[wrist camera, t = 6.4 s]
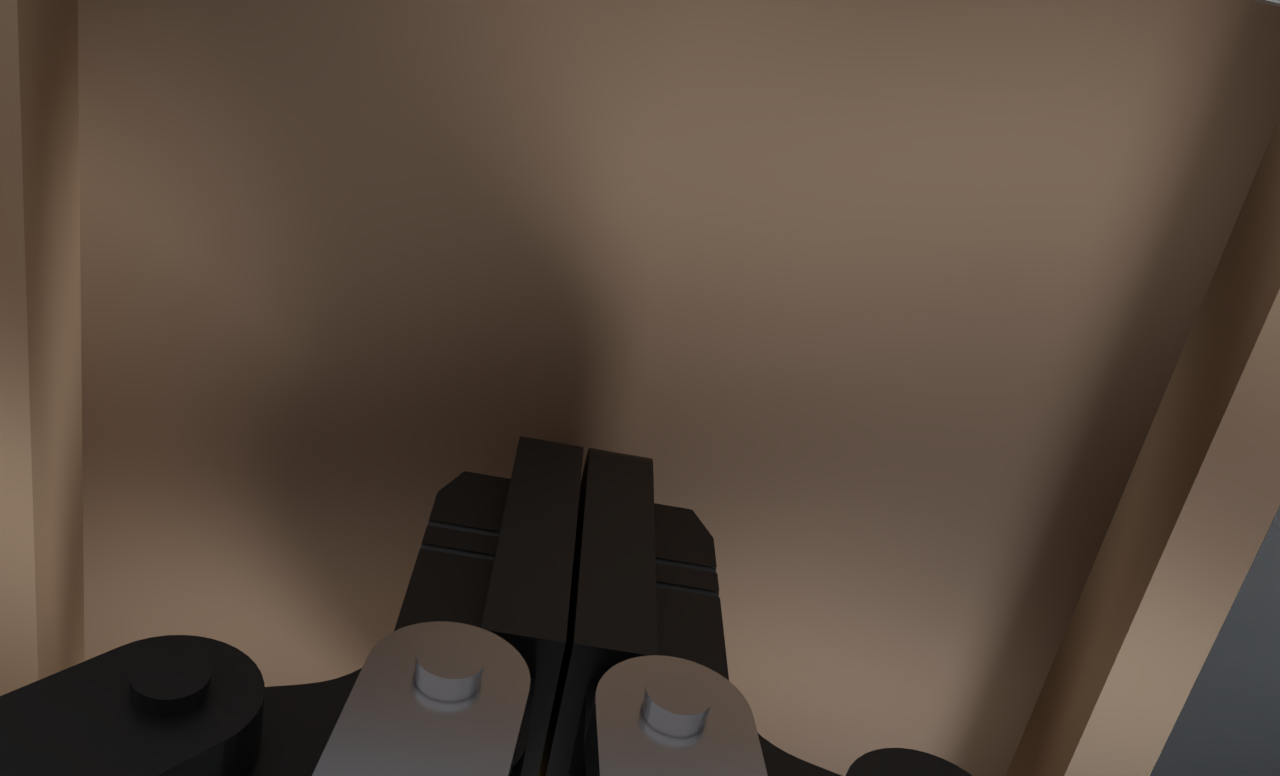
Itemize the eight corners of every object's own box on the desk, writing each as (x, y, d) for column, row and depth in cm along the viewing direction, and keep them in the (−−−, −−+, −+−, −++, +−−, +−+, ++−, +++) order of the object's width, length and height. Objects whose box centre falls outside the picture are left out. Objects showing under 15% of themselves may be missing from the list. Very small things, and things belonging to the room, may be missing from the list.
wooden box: (168, -230, 15) (-119, -281, 9) (1197, -16, 16) (1498, 53, 10) (146, 887, 23) (-13, 1219, 18) (829, 980, 24) (886, 1321, 19)
